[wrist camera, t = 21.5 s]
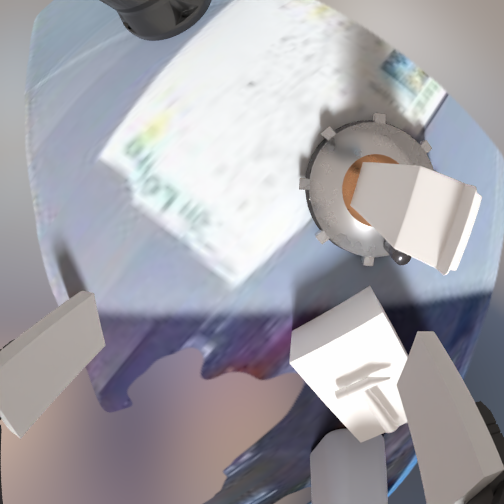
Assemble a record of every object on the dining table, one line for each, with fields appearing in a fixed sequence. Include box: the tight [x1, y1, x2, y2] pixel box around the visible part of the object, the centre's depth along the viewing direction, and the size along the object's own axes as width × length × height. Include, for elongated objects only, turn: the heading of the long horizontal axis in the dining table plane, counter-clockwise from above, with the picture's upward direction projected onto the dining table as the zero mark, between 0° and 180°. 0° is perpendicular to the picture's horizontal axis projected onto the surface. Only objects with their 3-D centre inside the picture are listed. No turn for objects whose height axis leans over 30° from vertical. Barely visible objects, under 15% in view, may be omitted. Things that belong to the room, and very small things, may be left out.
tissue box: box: [289, 286, 408, 443], centre depth 41 cm, size 14×25×11 cm, turn 37°
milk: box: [350, 162, 482, 275], centre depth 24 cm, size 6×6×22 cm
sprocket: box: [299, 113, 434, 266], centre depth 33 cm, size 20×20×7 cm
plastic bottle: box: [310, 429, 388, 504], centre depth 41 cm, size 15×15×28 cm
